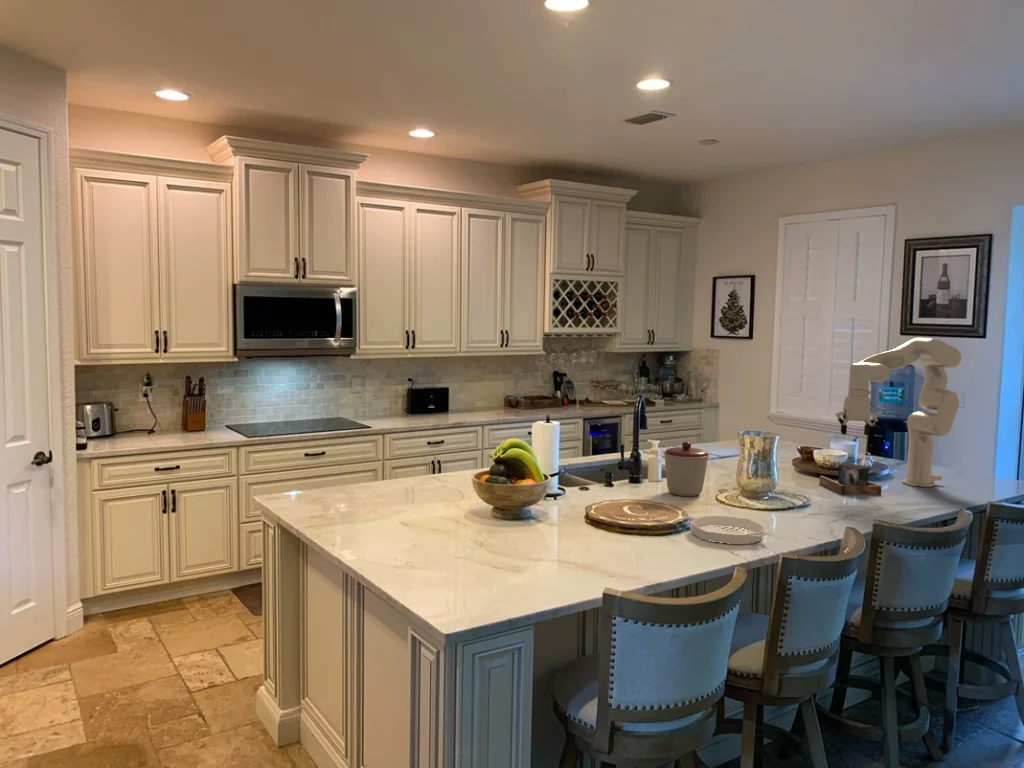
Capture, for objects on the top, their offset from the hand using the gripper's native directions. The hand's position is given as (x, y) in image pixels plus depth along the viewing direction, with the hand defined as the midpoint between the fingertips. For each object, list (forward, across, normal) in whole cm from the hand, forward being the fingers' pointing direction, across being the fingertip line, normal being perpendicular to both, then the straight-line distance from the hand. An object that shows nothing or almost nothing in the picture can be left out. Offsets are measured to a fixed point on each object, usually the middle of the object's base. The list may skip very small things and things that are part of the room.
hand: (855, 434), depth 321 cm
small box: (+24, 0, 0) cm, 24 cm away
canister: (+25, +72, +9) cm, 77 cm away
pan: (+26, +79, +62) cm, 103 cm away
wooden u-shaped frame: (+23, 0, -2) cm, 23 cm away
